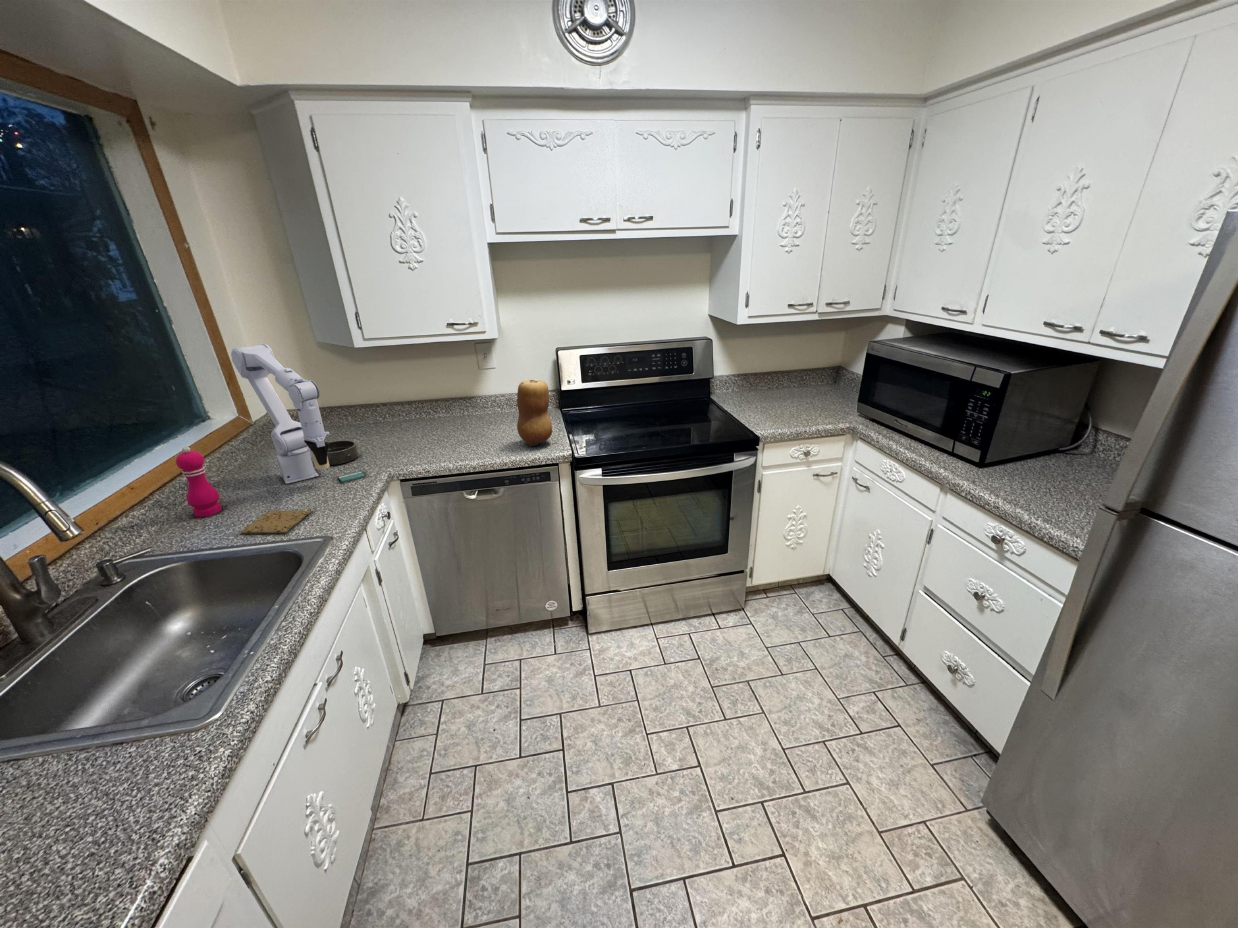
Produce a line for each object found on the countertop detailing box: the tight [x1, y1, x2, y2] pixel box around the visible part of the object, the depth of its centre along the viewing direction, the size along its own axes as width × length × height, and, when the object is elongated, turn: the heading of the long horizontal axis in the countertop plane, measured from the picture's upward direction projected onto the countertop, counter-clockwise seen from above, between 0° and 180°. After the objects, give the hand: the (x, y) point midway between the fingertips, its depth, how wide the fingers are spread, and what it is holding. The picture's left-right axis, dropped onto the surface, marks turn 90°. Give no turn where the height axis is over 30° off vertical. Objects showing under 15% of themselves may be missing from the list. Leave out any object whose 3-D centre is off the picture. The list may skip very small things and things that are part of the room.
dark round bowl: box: [327, 439, 359, 466], centre depth 181 cm, size 13×13×5 cm
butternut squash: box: [516, 378, 553, 447], centre depth 191 cm, size 14×13×25 cm
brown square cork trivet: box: [241, 510, 312, 535], centre depth 138 cm, size 12×12×1 cm
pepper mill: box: [175, 446, 223, 518], centre depth 141 cm, size 7×7×20 cm
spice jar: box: [309, 449, 331, 471], centre depth 158 cm, size 4×4×7 cm
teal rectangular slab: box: [337, 470, 366, 483], centre depth 167 cm, size 7×5×1 cm
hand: (321, 462), depth 159 cm, fingers closed on spice jar, 4 cm apart
